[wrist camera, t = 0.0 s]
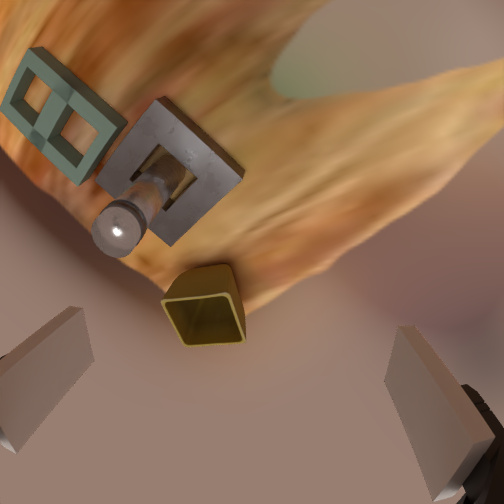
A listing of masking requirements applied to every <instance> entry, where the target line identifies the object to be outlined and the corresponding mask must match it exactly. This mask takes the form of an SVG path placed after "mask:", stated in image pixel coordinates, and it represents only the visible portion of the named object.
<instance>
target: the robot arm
mask: <svg viewBox="0 0 504 504" xmlns="http://www.w3.org/2000/svg"><path fill="white" fill-rule="evenodd" d="M93 362H94V358H93V353H92V349H91V345H90V340H89V335H88V331H87V326H86V321H85V316H84V311H83V308H79V307H73V306H69V307H68V308H66V309H65V310H64V311H63V312H61V313H60V314H58V315H57V316H56V317H54V318H53V319H52V320H50V321H49V322H48V323H47V324H45V325H44V326H43V327H41V328H40V329H39V330H37V331H36V332H35V333H34V334H32V335H31V336H30V337H28V338H27V339H26V340H25V341H23V342H22V343H21V344H19V345H18V346H17V347H16V348H15V349H13V350H12V351H11V352H10V353H8V354H6V355H4V356H2V357H1V358H0V442H1V444H2V445H3V447H5V448H7V449H9V450H11V451H12V452H14V453H16V454H17V453H18V452H19V450H20V449H21V448H22V447H23V445H24V444H25V443H26V442H27V440H28V439H29V438H30V437H31V436H32V434H33V433H34V432H35V431H36V429H37V428H38V427H39V426H40V424H41V423H42V422H43V421H44V420H45V418H46V417H47V416H48V415H49V413H50V412H51V411H52V410H53V409H54V407H55V406H56V405H57V404H58V403H59V402H60V400H61V399H62V398H63V396H65V394H66V393H67V392H68V391H69V390H70V388H71V387H72V386H73V385H74V384H75V383H76V381H77V380H78V379H79V378H80V377H81V376H82V375H83V373H84V372H85V371H86V370H87V369H88V367H89V366H90V365H91V364H92V363H93ZM384 382H385V384H386V387H387V389H388V391H389V393H390V396H391V398H392V400H393V402H394V405H395V407H396V409H397V412H398V414H399V416H400V419H401V421H402V423H403V426H404V428H405V431H406V433H407V436H408V438H409V440H410V443H411V445H412V448H413V450H414V453H415V455H416V458H417V461H418V463H419V466H420V468H421V471H422V473H423V476H424V479H425V481H426V484H427V487H428V490H429V492H430V495H431V498H432V501H433V502H435V501H438V500H442V499H445V498H449V497H452V496H454V495H455V493H456V492H457V491H458V490H459V489H460V487H461V486H462V485H463V487H464V489H465V492H466V493H465V494H464V495H463V496H462V498H461V499H460V500H459V501H458V502H457V504H504V428H503V426H502V425H501V423H500V422H499V421H498V419H497V418H496V416H495V415H494V414H493V412H492V411H490V408H489V407H488V405H487V404H486V403H484V400H483V399H482V397H481V396H480V394H479V393H478V392H477V391H475V390H474V389H473V388H471V387H470V386H469V385H467V384H465V385H460V384H459V383H458V382H457V380H456V379H455V377H454V376H453V375H452V373H451V372H450V371H449V369H448V368H447V367H446V365H445V364H444V363H443V361H442V360H441V359H440V358H439V356H438V355H437V353H436V352H435V351H434V350H433V348H432V347H431V346H430V344H429V343H428V342H427V341H426V340H425V338H424V337H423V335H422V334H421V333H420V332H419V330H418V329H417V328H416V327H415V325H408V326H398V328H397V332H396V337H395V341H394V345H393V350H392V353H391V357H390V361H389V365H388V369H387V372H386V376H385V380H384Z"/></svg>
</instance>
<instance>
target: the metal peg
mask: <svg viewBox="0 0 504 504" xmlns="http://www.w3.org/2000/svg"><path fill="white" fill-rule="evenodd" d="M185 173H186V169H185V166H184V165H183V164H182V163H180V162H179V161H178V160H177V159H176V158H175V157H174V156H173V155H171V154H168V155H164V156H162V157H160V158H159V159H158V160H157V161H156V162H154V163H153V164H152V165H151V166H150V167H149V168H148V169H147V170H146V171H144V172H143V173H142V174H141V175H140V176H139V177H138V178H137V179H136V180H135V181H134V182H133V183H132V184H131V185H129V186H128V187H127V188H126V189H125V190H124V191H123V192H122V193H121V194H120V195H119V196H118V197H117V198H116V199H115V200H114V201H112V202H111V203H110V204H108V205H107V206H106V207H105V208H104V209H103V210H102V212H101V213H100V215H99V216H98V217H97V218H96V219H95V221H94V222H93V224H92V228H91V233H92V237H93V240H94V242H95V244H96V245H97V247H99V249H100V250H101V251H103V252H104V253H105V254H107V255H109V256H111V257H116V258H121V257H125V256H127V255H129V254H130V253H131V252H132V250H133V249H134V247H135V246H137V245H138V243H139V242H140V240H141V239H142V238H143V236H144V234H145V232H146V230H147V228H148V227H149V225H150V224H151V222H152V221H153V220H154V218H155V217H156V215H157V214H158V213H159V211H160V210H161V208H162V207H163V206H164V204H165V203H166V201H167V200H168V199H169V197H170V196H171V195H172V193H173V192H174V191H175V189H176V188H177V187H178V185H179V184H180V183H181V181H182V180H183V178H184V177H185Z"/></svg>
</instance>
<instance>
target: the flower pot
mask: <svg viewBox="0 0 504 504" xmlns="http://www.w3.org/2000/svg"><path fill="white" fill-rule="evenodd" d="M161 304H162V306H163V308H164V310H165V312H166V314H167V316H168V318H169V319H170V322H171V323H172V325H173V327H174V329H175V331H176V333H177V335H178V337H179V339H180V341H181V342H182V344H183V345H184V346H185V347H199V346H211V345H229V344H241V343H245V342H246V326H245V312H244V308H243V304H242V301H241V298H240V295H239V292H238V289H237V286H236V283H235V279H234V276H233V272H232V270H231V268H230V266H229V265H227V264H219V265H213V266H206V267H199V268H194V269H191V270H188V271H186V272H184V273H182V274H181V275H179V276H178V277H177V278H176V279H175V280H174V282H173V283H172V285H171V286H170V288H169V289H168V291H167V292H166V294H165V295H164V298H163V299H162V300H161Z"/></svg>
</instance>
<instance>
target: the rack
mask: <svg viewBox="0 0 504 504" xmlns="http://www.w3.org/2000/svg"><path fill="white" fill-rule="evenodd" d="M35 74H36V75H37V76H38V77H39V78H40V79H41V80H42V81H43V82H44V83H46V84H47V85H48V86H49V87H50V88H51V89H52V90H53V91H52V92H51V94H50V96H49V98H48V100H47V101H46V103H45V105H44V107H43V109H42V111H41V113H40V115H39V114H38V113H37V112H36V111H35V110H34V109H33V108H32V107H31V106H30V105H29V104H28V103H26V102H25V101H24V100H23V98H24V96H25V94H26V92H27V90H28V88H29V86H30V84H31V82H32V80H33V78H34V76H35ZM73 110H75V111H76V112H77V113H78V114H79V115H80V116H82V117H83V118H84V119H85V120H86V121H87V122H88V123H89V124H90V125H91V126H93V127H94V128H95V129H96V130H97V131H98V132H99V134H98V136H97V137H96V139H95V140H94V142H93V143H92V145H91V146H90V148H89V149H88V151H87V152H86V154H85V156H84V157H83V156H82V155H81V154H80V153H79V152H78V151H77V150H76V149H75V148H74V147H73V146H72V145H71V144H69V143H68V142H67V141H66V140H65V139H64V138H63V137H62V136H61V135H60V133H61V131H62V129H63V127H64V126H65V124H66V122H67V120H68V119H69V117H70V115H71V114H72V112H73ZM0 111H1V112H2V113H3V114H4V115H5V116H6V117H7V118H8V119H9V120H10V121H11V122H12V123H13V124H14V125H15V126H16V127H17V128H18V129H19V130H20V131H21V133H22V134H23V135H24V136H25V137H26V138H27V139H28V140H29V141H30V142H31V143H33V144H34V145H35V146H36V147H37V148H38V149H39V150H40V151H41V152H42V153H43V154H44V155H45V156H46V157H47V158H48V159H49V160H50V161H51V162H52V163H53V164H54V165H55V166H56V167H57V168H58V169H59V170H60V171H62V172H63V173H64V174H65V175H66V176H67V177H68V178H69V179H70V180H71V181H72V182H73V183H74V184H75V185H77V186H79V185H81V184H82V183H83V182H85V181H86V180H87V179H89V177H90V176H91V174H92V173H93V171H94V170H95V168H96V167H97V165H98V164H99V162H100V161H101V159H102V158H103V156H104V155H105V154H106V152H107V151H108V149H109V148H110V146H111V145H112V144H113V142H114V141H115V139H116V138H117V137H118V135H119V134H120V133H121V131H122V130H123V129H124V127H125V126H126V125H127V123H128V122H127V121H126V120H125V119H124V118H123V117H122V116H120V115H119V114H118V113H117V112H116V111H115V110H114V109H113V108H111V107H110V106H109V105H108V104H107V103H106V102H105V101H104V100H102V99H101V98H100V97H99V96H98V95H97V94H96V93H94V92H93V91H92V90H91V89H90V88H89V87H88V86H87V85H85V84H84V83H83V82H82V81H81V80H80V79H79V78H77V77H76V76H75V75H74V74H73V73H72V72H71V71H69V70H68V69H67V68H66V67H65V66H64V65H63V64H61V63H60V62H59V61H58V60H57V59H56V58H55V57H53V56H52V55H51V54H50V53H49V52H48V51H46V50H45V49H44V48H43V47H36V48H28V50H27V52H26V53H25V55H24V57H23V59H22V61H21V63H20V65H19V67H18V69H17V71H16V73H15V75H14V77H13V79H12V81H11V83H10V85H9V88H8V90H7V92H6V94H5V97H4V99H3V101H2V104H1V106H0Z"/></svg>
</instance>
